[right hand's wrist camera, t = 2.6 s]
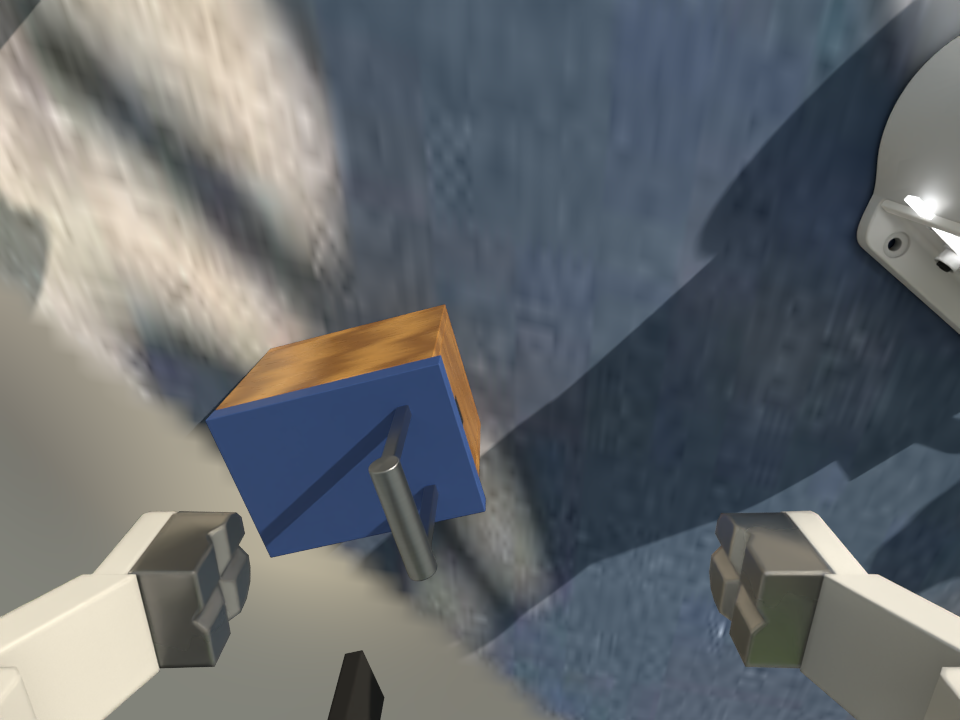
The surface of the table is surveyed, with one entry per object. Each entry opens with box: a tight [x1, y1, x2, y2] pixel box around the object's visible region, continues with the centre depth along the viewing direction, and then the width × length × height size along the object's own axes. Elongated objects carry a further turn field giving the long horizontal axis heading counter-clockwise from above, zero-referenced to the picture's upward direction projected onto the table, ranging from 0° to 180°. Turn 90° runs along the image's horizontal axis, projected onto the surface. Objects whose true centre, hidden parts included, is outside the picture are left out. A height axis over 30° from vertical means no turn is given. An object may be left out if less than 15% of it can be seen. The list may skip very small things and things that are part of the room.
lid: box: [206, 355, 486, 581], centre depth 33 cm, size 14×10×8 cm
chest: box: [216, 305, 481, 476], centre depth 42 cm, size 13×10×10 cm
